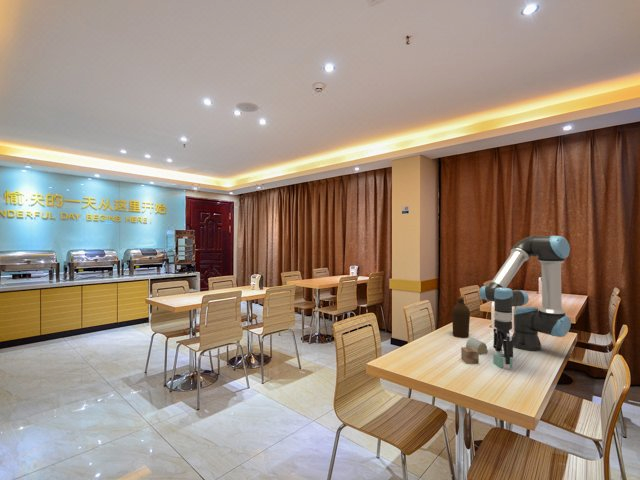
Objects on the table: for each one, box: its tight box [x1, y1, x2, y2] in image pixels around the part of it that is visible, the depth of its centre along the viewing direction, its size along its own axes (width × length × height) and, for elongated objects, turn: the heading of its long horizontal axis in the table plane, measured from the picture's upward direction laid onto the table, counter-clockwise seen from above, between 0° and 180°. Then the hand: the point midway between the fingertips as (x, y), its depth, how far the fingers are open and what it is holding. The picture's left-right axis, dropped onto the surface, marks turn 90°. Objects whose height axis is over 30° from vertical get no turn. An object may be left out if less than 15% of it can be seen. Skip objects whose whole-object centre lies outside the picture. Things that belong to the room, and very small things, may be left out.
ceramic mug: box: [465, 337, 489, 355], centre depth 173 cm, size 11×8×8 cm
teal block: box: [492, 353, 514, 369], centre depth 154 cm, size 6×6×6 cm
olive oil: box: [451, 296, 471, 339], centre depth 204 cm, size 11×11×25 cm
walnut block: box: [460, 346, 480, 365], centre depth 158 cm, size 6×6×6 cm
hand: (502, 367), depth 154 cm, fingers closed on teal block, 6 cm apart
